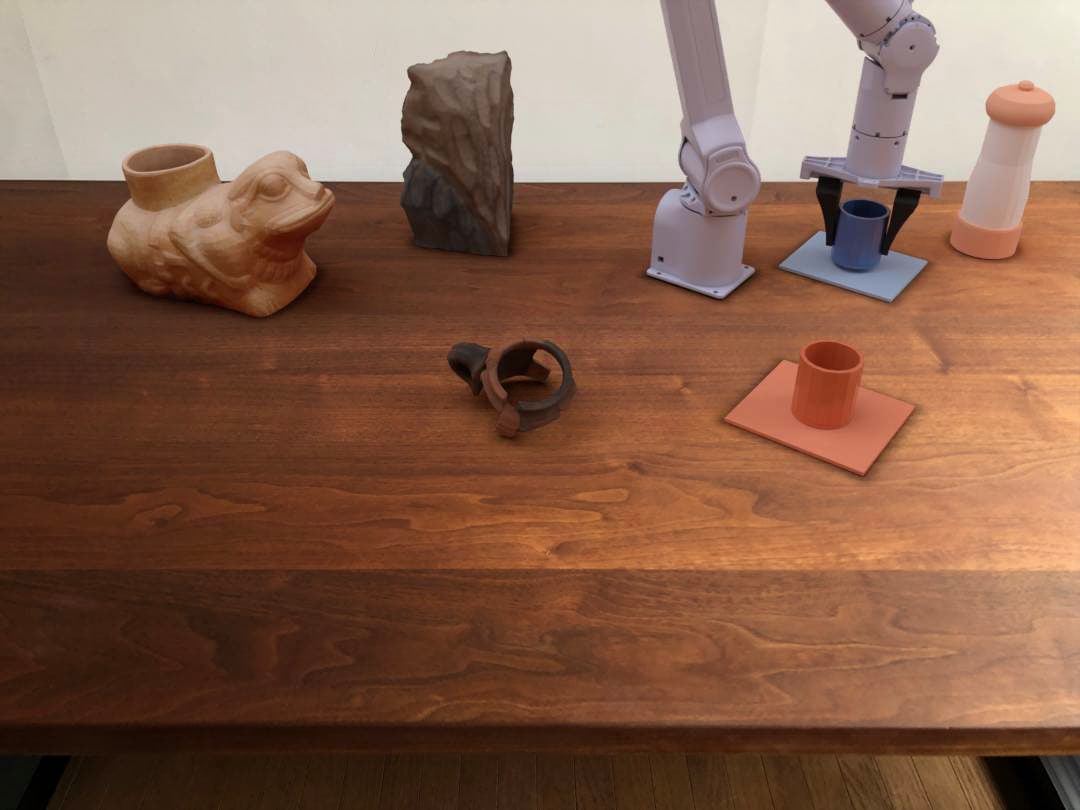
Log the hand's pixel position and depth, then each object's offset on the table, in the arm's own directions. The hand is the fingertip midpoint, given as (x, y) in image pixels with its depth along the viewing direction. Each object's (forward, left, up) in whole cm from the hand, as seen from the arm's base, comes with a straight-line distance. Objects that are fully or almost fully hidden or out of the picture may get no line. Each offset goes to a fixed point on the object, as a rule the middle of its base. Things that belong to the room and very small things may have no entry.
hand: (856, 246), depth 117 cm
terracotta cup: (+9, -29, -2) cm, 30 cm away
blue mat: (0, 0, -2) cm, 2 cm away
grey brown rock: (-39, -20, -3) cm, 44 cm away
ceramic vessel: (-53, -44, -3) cm, 69 cm away
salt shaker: (+10, +14, -3) cm, 17 cm away
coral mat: (+9, -29, -2) cm, 31 cm away
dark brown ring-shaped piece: (-14, -45, -3) cm, 47 cm away
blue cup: (0, 0, -1) cm, 1 cm away
